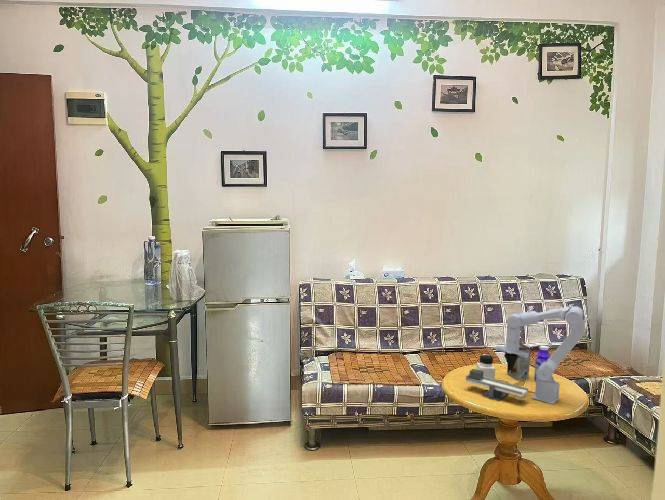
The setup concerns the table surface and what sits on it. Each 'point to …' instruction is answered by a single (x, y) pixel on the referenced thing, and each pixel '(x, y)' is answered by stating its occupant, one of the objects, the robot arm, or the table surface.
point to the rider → (476, 374)
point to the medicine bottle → (486, 366)
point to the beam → (501, 386)
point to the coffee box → (521, 365)
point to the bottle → (541, 357)
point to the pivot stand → (495, 394)
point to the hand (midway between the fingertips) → (510, 369)
